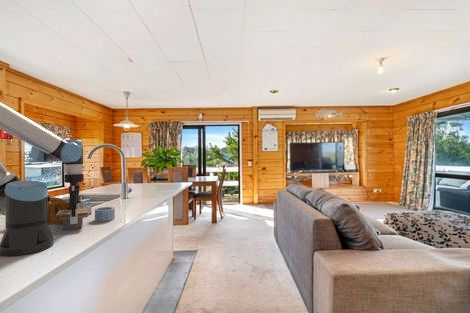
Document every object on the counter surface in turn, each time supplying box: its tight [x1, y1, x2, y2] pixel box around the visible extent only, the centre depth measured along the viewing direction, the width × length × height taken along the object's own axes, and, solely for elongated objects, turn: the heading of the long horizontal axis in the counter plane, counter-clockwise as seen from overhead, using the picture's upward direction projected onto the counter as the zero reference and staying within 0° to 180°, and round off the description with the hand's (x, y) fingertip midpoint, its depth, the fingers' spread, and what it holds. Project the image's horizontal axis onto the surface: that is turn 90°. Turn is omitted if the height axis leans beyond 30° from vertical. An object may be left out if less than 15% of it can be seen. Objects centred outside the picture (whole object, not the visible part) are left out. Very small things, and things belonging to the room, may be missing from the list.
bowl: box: [94, 206, 116, 222], centre depth 132 cm, size 9×9×6 cm
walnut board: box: [56, 208, 89, 220], centre depth 118 cm, size 12×12×2 cm
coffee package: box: [48, 196, 70, 225], centre depth 125 cm, size 10×12×22 cm
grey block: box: [62, 218, 84, 231], centre depth 118 cm, size 7×7×5 cm
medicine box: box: [79, 198, 93, 216], centre depth 140 cm, size 8×4×9 cm, turn 179°
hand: (75, 220), depth 119 cm, fingers closed on walnut board, 12 cm apart
